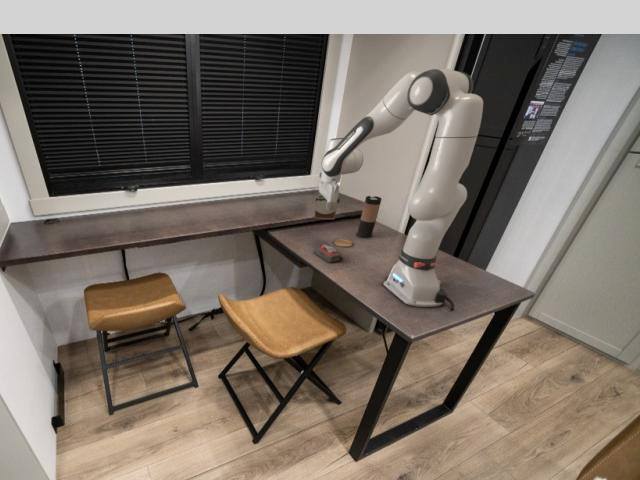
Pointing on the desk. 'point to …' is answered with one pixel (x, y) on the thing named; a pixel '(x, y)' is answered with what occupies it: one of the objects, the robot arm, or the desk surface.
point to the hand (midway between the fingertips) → (325, 207)
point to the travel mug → (369, 216)
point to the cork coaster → (343, 243)
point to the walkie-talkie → (328, 253)
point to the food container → (321, 210)
